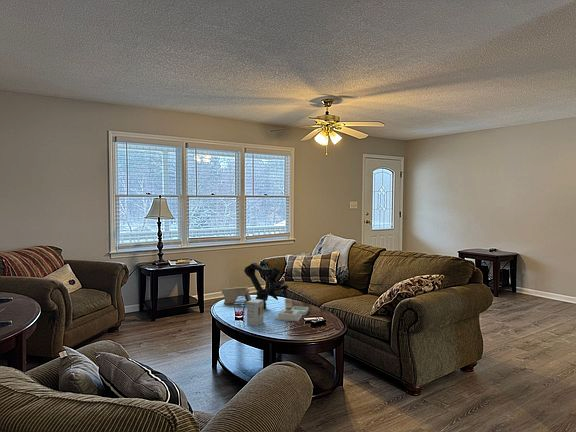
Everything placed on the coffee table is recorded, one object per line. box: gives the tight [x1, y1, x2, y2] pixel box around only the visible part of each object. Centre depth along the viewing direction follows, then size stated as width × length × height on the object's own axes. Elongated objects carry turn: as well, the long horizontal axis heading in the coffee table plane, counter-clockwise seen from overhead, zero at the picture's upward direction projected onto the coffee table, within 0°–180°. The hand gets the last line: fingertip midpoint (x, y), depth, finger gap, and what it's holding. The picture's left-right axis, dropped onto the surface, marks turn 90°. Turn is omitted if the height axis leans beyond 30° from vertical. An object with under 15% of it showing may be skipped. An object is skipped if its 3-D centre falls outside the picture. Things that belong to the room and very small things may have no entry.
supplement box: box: [246, 298, 265, 327], centre depth 286 cm, size 10×9×17 cm
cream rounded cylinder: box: [284, 298, 293, 313], centre depth 299 cm, size 5×5×13 cm
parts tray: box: [292, 305, 309, 316], centre depth 313 cm, size 12×12×3 cm
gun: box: [221, 286, 252, 305], centre depth 338 cm, size 24×3×15 cm, turn 84°
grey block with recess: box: [274, 308, 303, 323], centre depth 299 cm, size 18×14×4 cm
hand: (282, 298), depth 304 cm, fingers open, 9 cm apart
